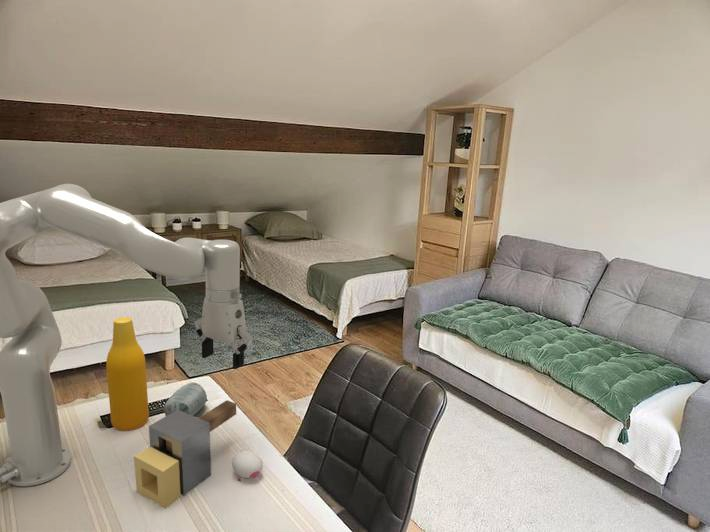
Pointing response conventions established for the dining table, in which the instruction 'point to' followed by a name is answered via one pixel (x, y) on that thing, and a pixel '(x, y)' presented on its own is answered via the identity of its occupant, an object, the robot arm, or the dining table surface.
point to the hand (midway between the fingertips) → (222, 361)
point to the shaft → (215, 417)
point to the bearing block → (184, 446)
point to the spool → (186, 399)
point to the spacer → (157, 476)
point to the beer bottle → (126, 378)
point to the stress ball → (247, 464)
